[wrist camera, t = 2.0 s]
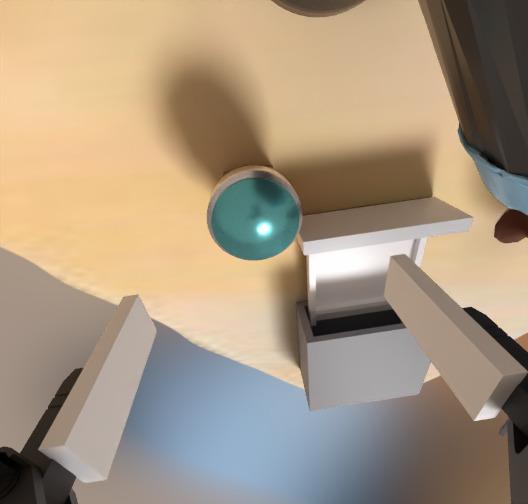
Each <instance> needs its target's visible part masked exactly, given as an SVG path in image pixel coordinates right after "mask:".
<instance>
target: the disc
mask: <svg viewBox="0 0 528 504" xmlns="http://www.w3.org/2000/svg"><path fill="white" fill-rule="evenodd" d="M302 219H303V212H302V206H301V202H300V200H299V197H298V195H297V194H296V192H295V190H294V189H293V187H292V185H291V184H290V182H289V181H288V180H287V179H286V178H285V177H284V176H283V175H282V174H280V173H279V172H277V171H275V170H273V169H271V168H268V167H265V166H260V165H249V166H243V167H240V168H237V169H234V170H233V171H231V172H229V173H228V174H226V175H225V176H224V177H223V178H222V179H220V181H219V182H218V183H217V184H216V186H215V188H214V190H213V192H212V194H211V198H210V202H209V206H208V210H207V224H208V228H209V231H210V234H211V236H212V238H213V239H214V241H215V242H216V243H217V245H218V246H219V247H220V248H221V249H223V250H224V251H225V252H227V253H228V254H230V255H232V256H234V257H237V258H240V259H244V260H263V259H267V258H270V257H273V256H275V255H278V254H279V253H281V252H283V251H284V250H285V249H287V248H288V247H289V246H290V245H291V244H292V243H293V241H294V240H295V238H296V237H297V235H298V233H299V231H300V228H301V225H302Z"/></svg>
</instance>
